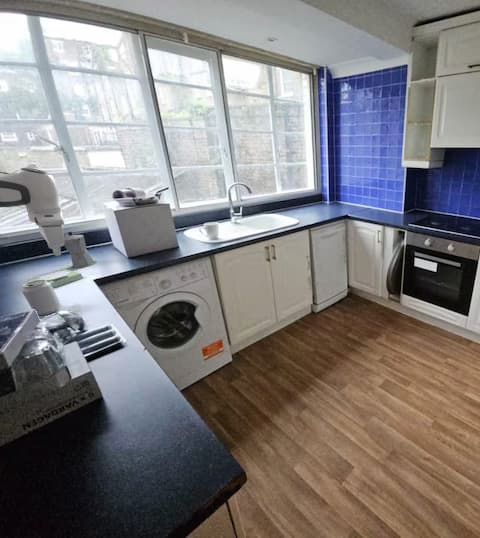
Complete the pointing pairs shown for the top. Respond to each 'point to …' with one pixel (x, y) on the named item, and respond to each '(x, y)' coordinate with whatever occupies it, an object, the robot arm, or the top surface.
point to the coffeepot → (77, 250)
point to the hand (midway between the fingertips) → (54, 251)
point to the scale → (59, 277)
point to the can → (41, 297)
